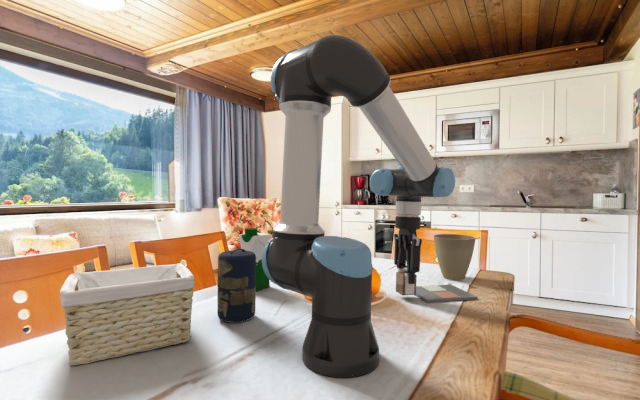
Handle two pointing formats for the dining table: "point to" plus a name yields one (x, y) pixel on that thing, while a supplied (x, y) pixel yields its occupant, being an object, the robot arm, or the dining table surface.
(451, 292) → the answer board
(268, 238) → the milk carton
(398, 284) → the brown wooden block
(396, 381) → the dining table surface
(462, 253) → the plant pot
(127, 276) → the storage basket
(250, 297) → the canister
